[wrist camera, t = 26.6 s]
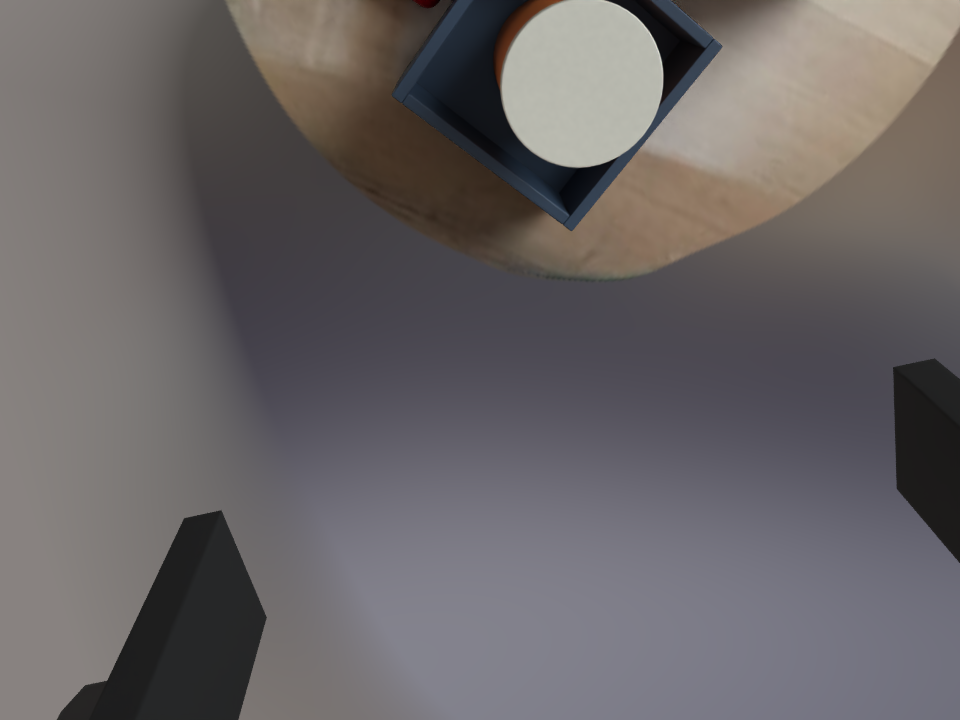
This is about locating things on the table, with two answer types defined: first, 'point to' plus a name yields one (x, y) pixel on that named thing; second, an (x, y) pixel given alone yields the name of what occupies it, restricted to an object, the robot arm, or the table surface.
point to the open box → (478, 106)
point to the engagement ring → (427, 3)
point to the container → (577, 79)
